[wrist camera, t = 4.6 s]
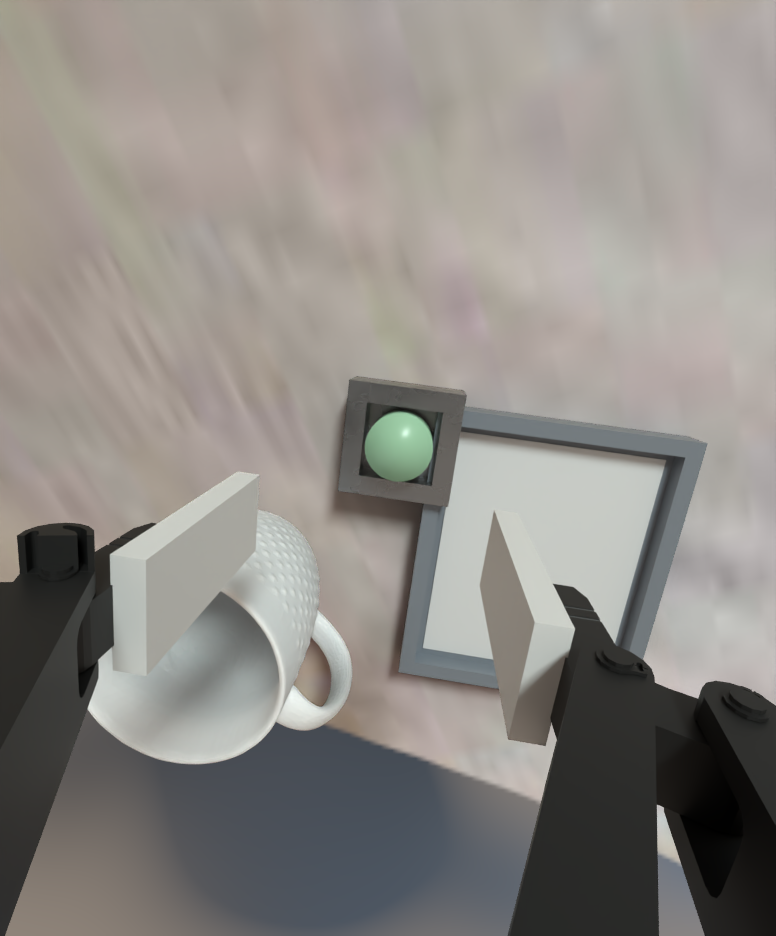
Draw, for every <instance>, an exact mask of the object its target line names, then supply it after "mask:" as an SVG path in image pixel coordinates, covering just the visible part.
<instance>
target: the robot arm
mask: <svg viewBox="0 0 776 936" xmlns="http://www.w3.org/2000/svg"><path fill="white" fill-rule="evenodd" d="M259 481H260V475H257V474H250V473H243V472H236V473H235V474H233V475H232V476H230V477H229V478H227V479H225V480H224V481H222V482H221V483H219V484H218V485H216V486H215V487H213V488H212V489H210V490H209V491H207V492H205V493H204V494H202V495H201V496H199V497H198V498H196V499H195V500H193V501H192V502H190V503H188V504H187V505H185V506H184V507H182V508H181V509H179V510H178V511H176V512H175V513H173V514H171V515H170V516H168V517H167V518H165V519H164V520H162V521H161V522H159V523H158V524H156V523H150V524H147V525H143V526H140V527H137V528H134V529H132V530H130V531H129V532H127V533H125V534H124V535H122V536H120V538H117V539H116V540H114V541H112V542H111V543H110V544H109V545H106V546H104V547H103V548H101V549H99V550H98V551H96V552H95V546H94V530H93V529H92V528H90V527H89V526H86V525H82V524H75V523H56V524H48V525H42V526H37V527H34V528H31V529H28V530H25V531H24V532H22V533H21V534H19V535H17V541H18V554H19V567H20V574H19V576H18V577H17V578H16V579H15V580H14V582H0V936H5V934H6V931H7V928H8V925H9V923H10V920H11V917H12V914H13V912H14V909H15V906H16V903H17V901H18V898H19V895H20V892H21V890H22V887H23V884H24V881H25V879H26V876H27V873H28V870H29V867H30V865H31V862H32V859H33V857H34V854H35V851H36V848H37V846H38V843H39V840H40V838H41V835H42V832H43V829H44V826H45V824H46V821H47V818H48V815H49V813H50V810H51V807H52V804H53V802H54V799H55V796H56V793H57V791H58V788H59V785H60V783H61V780H62V777H63V774H64V772H65V769H66V766H67V763H68V761H69V758H70V755H71V752H72V749H73V747H74V744H75V741H76V739H77V736H78V733H79V731H80V728H81V725H82V722H83V719H84V717H85V714H86V711H87V709H88V706H89V703H90V700H91V698H92V695H93V692H94V689H95V687H96V684H97V681H98V678H99V664H98V660H99V659H100V658H101V657H102V656H103V655H104V654H105V653H106V652H107V651H108V650H109V649H110V648H111V647H112V662H113V671H119V672H125V673H131V674H136V675H142V676H147V675H148V674H149V673H150V672H151V671H152V669H153V668H154V667H155V666H156V665H157V664H158V662H159V661H160V660H161V659H162V658H163V657H164V656H165V654H166V653H167V652H168V651H169V650H170V649H171V647H172V646H173V645H174V644H175V643H176V642H177V641H178V639H179V638H180V637H181V636H182V635H183V634H184V632H185V631H186V630H187V629H188V628H189V627H190V626H191V624H192V623H193V622H194V621H195V620H196V619H197V617H198V616H199V615H200V614H201V613H202V612H203V611H204V609H205V608H206V607H207V606H208V605H209V604H210V602H211V601H212V600H213V599H214V598H215V597H216V596H217V594H218V593H219V592H220V591H221V590H222V589H223V587H224V586H225V585H226V584H227V583H228V582H229V581H230V579H231V578H232V577H233V576H234V575H235V574H236V572H237V571H238V570H239V569H240V568H241V567H242V566H243V564H244V563H245V562H246V561H247V560H248V559H249V557H250V556H251V555H252V554H253V553H254V552H255V549H256V532H257V515H258V498H259ZM480 591H481V596H482V602H483V607H484V612H485V618H486V623H487V629H488V634H489V639H490V645H491V650H492V655H493V661H494V666H495V671H496V677H497V682H498V687H499V693H500V698H501V703H502V709H503V714H504V720H505V725H506V730H507V736H508V739H509V740H515V741H520V742H526V743H532V744H538V745H543V746H546V742H547V738H548V734H549V730H550V726H551V722H552V725H553V729H554V732H555V735H556V738H557V742H556V746H555V749H554V753H553V757H552V761H551V765H550V769H549V772H548V776H547V780H546V784H545V788H544V793H543V797H542V801H541V805H540V809H539V813H538V817H537V821H536V825H535V829H534V833H533V837H532V841H531V845H530V849H529V853H528V857H527V861H526V865H525V869H524V873H523V877H522V881H521V884H520V888H519V893H518V897H517V900H516V904H515V908H514V912H513V916H512V921H511V924H510V928H509V932H508V936H659V921H658V919H659V916H658V859H657V805H660V806H662V807H664V813H665V816H666V819H667V822H668V825H669V828H670V831H671V834H672V837H673V840H674V843H675V846H676V849H677V852H678V855H679V858H680V861H681V864H682V867H683V870H684V874H685V877H686V879H687V883H688V886H689V889H690V892H691V895H692V898H693V901H694V904H695V907H696V910H697V913H698V916H699V919H700V922H701V925H702V928H703V931H704V934H705V936H776V706H775V705H774V704H772V703H771V702H770V701H768V700H767V699H765V698H764V697H763V696H762V695H760V694H758V693H756V692H755V691H754V692H752V690H750V689H748V688H746V687H743V686H737V685H734V684H731V683H727V682H720V681H713V682H708V683H706V684H705V685H704V686H703V687H702V690H701V692H700V695H699V698H698V699H697V698H694V697H691V696H688V695H685V694H683V693H680V692H677V691H674V690H671V689H668V688H666V687H664V686H661V685H659V684H656V683H655V679H654V675H653V672H652V669H651V668H650V667H649V666H648V665H647V664H646V663H645V662H644V660H642V659H641V658H639V657H638V656H636V655H635V654H633V653H632V652H630V651H627V650H625V649H623V648H621V647H619V646H616V645H615V643H614V642H613V640H612V638H611V637H610V635H609V633H608V632H607V630H606V628H605V627H604V625H603V623H602V622H600V618H599V617H598V615H597V613H596V612H594V608H593V607H592V605H591V603H590V602H589V600H588V598H587V597H585V596H584V595H583V594H582V593H580V592H579V591H578V590H577V589H575V588H574V587H571V586H565V585H558V584H553V583H552V581H551V579H550V577H549V575H548V573H547V571H546V569H545V567H544V565H543V563H542V561H541V559H540V557H539V555H538V553H537V551H536V549H535V547H534V545H533V543H532V541H531V539H530V537H529V535H528V533H527V531H526V529H525V527H524V525H523V523H522V520H521V518H520V516H519V514H518V513H515V512H508V511H501V510H494V513H493V518H492V523H491V528H490V533H489V539H488V544H487V549H486V554H485V560H484V565H483V570H482V575H481V581H480Z"/></svg>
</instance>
